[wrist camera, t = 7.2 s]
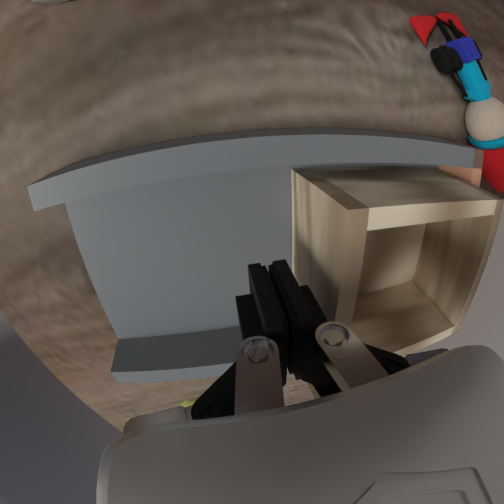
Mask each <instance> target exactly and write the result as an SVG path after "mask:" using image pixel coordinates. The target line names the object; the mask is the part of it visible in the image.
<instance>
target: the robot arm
mask: <svg viewBox="0 0 504 504" xmlns="http://www.w3.org/2000/svg"><path fill="white" fill-rule="evenodd" d="M31 1H34V2H36V3H45V4H51V3H60V2H65V1H69V0H31ZM268 272H269V273H268ZM248 276H249V287H250V294H246V295H240V296H235V298H236V306H237V313H238V320H239V326H240V331H241V336H242V342H241V343H240V345H239V346H238V348H237V355H236V361H235V362H234V363H233V364H232V365H231V366H230V367H229V368H228V370H227V371H226V372H225V373H224V374H223V375H222V376H221V377H220V378H219V379H217V380H216V381H215V382H214V383H213V384H212V385H211V386H210V387H209V388H208V389H207V390H206V391H205V392H204V393H203V394H202V395H201V396H200V397H199V398H198V399H197V400H196V401H195V402H194V404H193V405H191V406H188V407H183V405H182V406H178V407H175V408H171V409H167V410H163V411H159V412H154V413H150V414H145V415H141V416H136V417H134V418H131V419H130V420H129V421H128V422H126V424H125V426H124V432H123V434H124V435H122V436H120V437H118V438H117V439H115V440H114V441H112V442H111V443H110V444H109V445H108V447H107V448H106V450H105V452H104V454H103V457H102V460H101V463H100V468H99V474H98V482H97V497H96V498H97V499H96V504H504V361H503V359H502V358H501V357H500V356H499V355H498V354H497V353H496V352H495V351H494V350H492V349H491V348H489V347H487V346H483V345H469V346H463V347H458V348H455V349H452V350H448V349H436V350H431V351H426V352H420V353H414V354H407V355H406V356H405V357H402V356H400V355H398V354H395V353H392V352H389V351H386V350H383V349H380V348H377V347H374V346H371V345H368V344H365V343H362V342H361V340H360V339H359V338H358V337H357V336H356V334H355V333H354V332H353V331H352V330H351V329H350V328H349V327H348V326H347V325H345V324H343V323H340V322H328V320H327V318H326V317H325V315H324V313H323V311H322V309H321V308H320V306H319V304H318V302H317V300H316V299H315V297H314V295H313V293H312V291H311V290H310V288H309V286H308V285H302V286H299V284H298V282H297V280H296V278H295V276H294V275H293V273H292V271H291V269H290V267H289V265H288V263H287V261H286V260H285V259H283V260H276V261H273V262H272V264H271V265H268V270H267V268H266V265H264V266H261V263H255V264H248ZM287 368H288V371H289V373H290V374H292V373H294V375H295V378H296V380H298V379H301V380H303V381H305V382H308V386H309V389H310V390H311V392H312V394H313V395H314V397H315V399H314V400H310V401H306V402H302V403H298V404H293V405H289V406H284V397H283V386H284V385H285V384H286V375H287Z"/></svg>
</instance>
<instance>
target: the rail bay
mask: <svg viewBox="0 0 504 504" xmlns="http://www.w3.org/2000/svg"><path fill="white" fill-rule="evenodd" d="M483 155H484V151H483V150H480V149H478V148H474V147H471V146H468V145H465V144H462V143H458V142H455V141H451V140H448V139H444V138H440V137H434V136H428V135H420V134H413V133H404V132H395V131H384V130H371V129H353V128H280V129H261V130H248V131H236V132H226V133H217V134H209V135H202V136H194V137H188V138H181V139H175V140H169V141H164V142H158V143H153V144H148V145H143V146H139V147H134V148H130V149H125V150H121V151H117V152H113V153H109V154H105V155H101V156H98V157H94V158H90V159H87V160H83V161H80V162H77V163H74V164H70V165H67V166H65V167H63V168H61V169H59V170H57V171H55V172H53V173H51V174H49V175H47V176H45V177H43V178H41V179H39V180H37V181H36V182H34V183H32V184H30V185H28V186H27V187H28V191H29V195H30V199H31V203H32V206H33V210H34V211H37V210H41V209H44V208H47V207H51V206H54V205H58V204H62V203H65V205H66V208H67V212H68V215H69V219H70V222H71V225H72V229H73V232H74V235H75V238H76V241H77V244H78V247H79V250H80V252H81V255H82V258H83V261H84V263H85V266H86V268H87V271H88V274H89V276H90V278H91V281H92V283H93V286H94V288H95V290H96V293H97V295H98V297H99V300H100V302H101V304H102V306H103V308H104V311H105V313H106V315H107V317H108V319H109V321H110V323H111V325H112V327H113V329H114V331H115V333H116V335H117V337H118V343H117V347H116V351H115V355H114V359H113V364H112V368H111V373H112V375H113V376H114V378H115V379H116V381H117V382H118V383H141V382H163V381H177V380H189V379H200V378H209V377H217V376H222V375H223V374H224V373H225V372H226V371H227V370H228V368H229V367H230V366H231V365H232V364H233V363H234V362H235V361H236V355H237V348H238V346H239V345H240V343H241V342H242V336H241V331H240V326H239V320H238V313H237V306H236V298H235V296H240V295H246V294H250V287H249V276H248V264H255V263H261V266H264V265H266V268H267V270H268V265H271V264H272V262H273V261H276V260H283V259H285V260H286V261H287V263H288V265H289V267H290V269H291V271H292V183H291V169H299V168H317V167H341V166H412V167H434V168H436V169H439V170H441V171H444V172H446V173H449V174H451V175H453V176H456V177H458V178H460V179H462V180H465V181H467V182H469V183H471V184H473V185H475V186H478V187H480V180H481V173H482V165H483ZM268 273H269V272H268Z"/></svg>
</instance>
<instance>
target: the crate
mask: <svg viewBox="0 0 504 504" xmlns="http://www.w3.org/2000/svg"><path fill="white" fill-rule="evenodd" d="M291 183H292V273H293V275H294V276H295V278H296V280H297V282H298V284H299V286H302V285H308V286H309V288H310V290H311V291H312V293H313V295H314V297H315V299H316V300H317V302H318V304H319V306H320V308H321V309H322V311H323V313H324V315H325V317H326V318H327V320H328V322H340V323H343V324H345V325H347V326H348V327H349V328H350V329H351V330H352V331H353V332H354V333H355V334H356V336H357V337H358V338H359V339H360V340H361V342H362V343H365V344H368V345H371V346H374V347H377V348H380V349H383V350H386V351H389V352H392V353H395V354H398V355H400V356H405V355H407V354H410V353H412V352H414V351H417V350H419V349H421V348H424V347H426V346H428V345H430V344H432V343H435V342H437V341H439V340H441V339H443V338H445V337H447V336H449V335H451V334H453V333H455V332H457V331H458V329H459V327H460V325H461V323H462V321H463V319H464V317H465V315H466V313H467V311H468V308H469V306H470V304H471V302H472V299H473V297H474V295H475V292H476V290H477V287H478V285H479V282H480V279H481V277H482V274H483V271H484V268H485V266H486V263H487V260H488V256H489V254H490V250H491V247H492V244H493V240H494V237H495V233H496V230H497V225H498V222H499V217H500V213H501V209H502V203H503V199H501V198H499V197H497V196H496V195H494V194H492V193H490V192H488V191H486V190H484V189H482V188H480V187H478V186H475V185H473V184H471V183H469V182H467V181H465V180H462V179H460V178H458V177H456V176H453V175H451V174H449V173H446V172H444V171H441V170H439V169H436V168H434V167H412V166H341V167H317V168H299V169H291Z"/></svg>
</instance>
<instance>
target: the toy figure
mask: <svg viewBox="0 0 504 504" xmlns="http://www.w3.org/2000/svg"><path fill="white" fill-rule="evenodd" d="M436 17H437V18H438V19H440V20H441V21H443V22H444V23H446V24H448V25H449V26H451V27H452V29H453V30H454V32H455V34H456V35H457V37H458V39H456V40H452V38H451V36H450V35H449V33H448V31H447V30H446V28H445V26H444V25H443V23H442V22H441V21H440V20H437V18H436ZM436 17H433V16H427V15H423V16H416V17H411V18H409V20H410V22H411V24H412V27H413V29H414V30H415V32H416V33H417V35H418V36H419V38H420V39H421V40H422V42H423V43H424V45H425V46H426V41H427V38H428V36H429V34H430V33H431V31H432V30H433V28H434V26H435V25H436V23H438V25H439V26H440V28H441V29H442V31H443V33H444V34H445V36H446V38H447V39H448V41H449V42H447V43H445V44H446V46H444V45H442V46H440V47H439V48H434V49H432V50H431V52H430V55H431V58H432V60H433V62H434V63H435V65H436V67H437V69H438V70H439V71H441V72H443V73H447V72H450V74H451V78H452V79H453V81H454V82H455V83H456V85H457V86H458V88H459V89H460V90H461V92H462V93H463V95H464V98H465V99H467V100H469V101H470V103H469V104H468V106H467V108H466V111H465V125H466V128H467V131H468V132H469V134H468V140H469V143H468V145H469V146H471V147H474V148H478V149H480V150H483V151H484V155H483V165H482V173H481V174H482V176H483V177H484V179H485V180H486V181H487V183H488V184H489V185H490V186H491V187H492V188H494V189H495V190H497V191H498V192H502V193H504V104H503V103H502V102H501V101H499V100H498V99H496V98H494V97H492V96H491V93H490V88H491V86H490V84H489V82H488V80H487V78H486V75H485V73H484V71H483V68H482V66H481V64H480V61H479V60H481V59H482V54H481V52H480V50H479V48H478V46H477V44H476V42H475V41H474V40H472V38H471V37H468V35H467V33H466V31H465V29H464V27H463V25H462V23H461V21H460V20H459V18H458V17H457V16H456V15H455V14H452V13H445V12H442V13H438V14H436ZM459 32H460V33H462V34H464V35H465V36H466V37H464V38H462V36H461V34H460V33H459ZM476 61H477V62H476ZM477 63H478V64H477ZM452 69H455V70H456V71H457V74H458V76H459V78H460V80H461V82H462V84H463V87H464V88H463V87H462V85H461V84H460V82H459V81H458V80H457V78H456V77H455V75H454V73H453V71H452ZM464 89H465V90H464Z"/></svg>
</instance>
